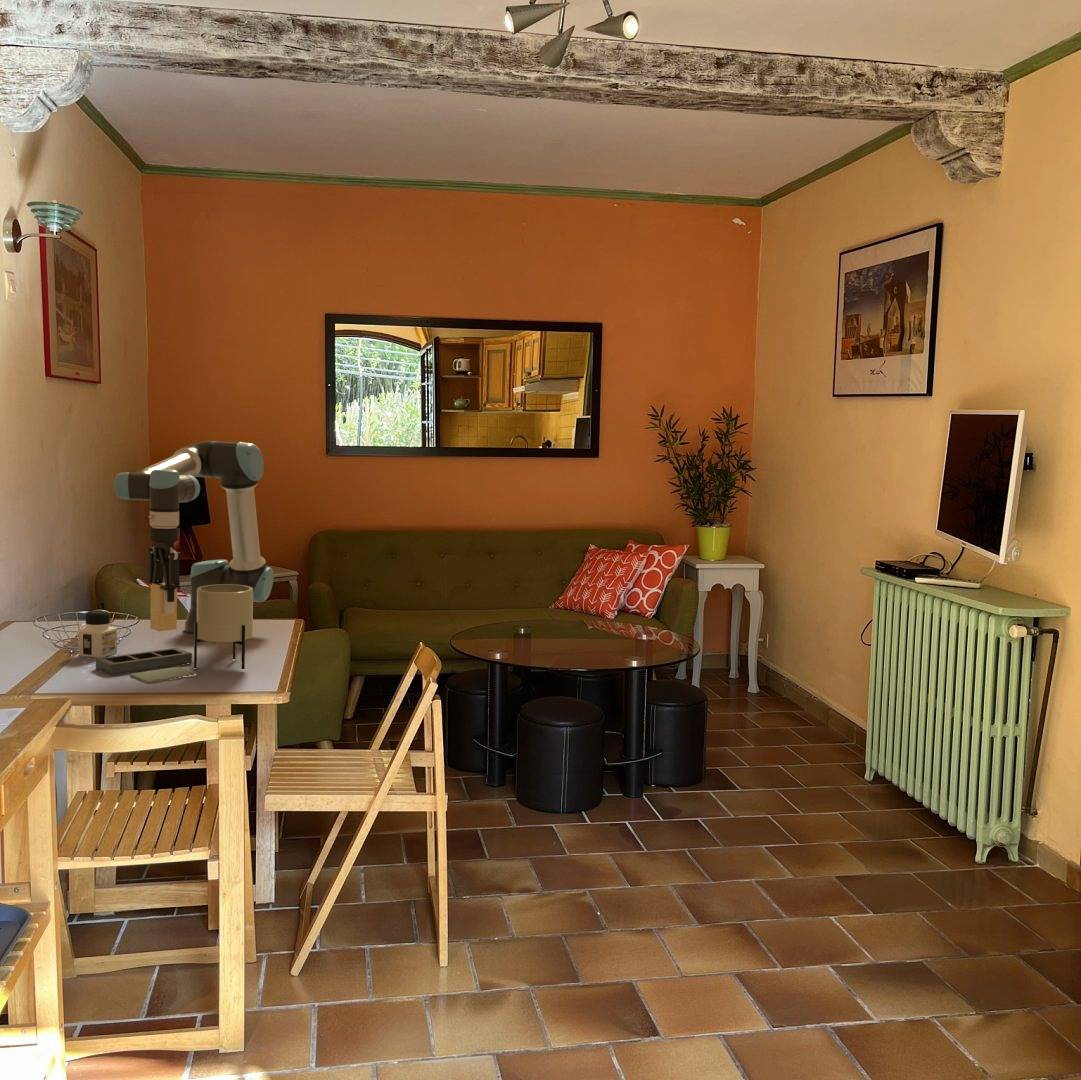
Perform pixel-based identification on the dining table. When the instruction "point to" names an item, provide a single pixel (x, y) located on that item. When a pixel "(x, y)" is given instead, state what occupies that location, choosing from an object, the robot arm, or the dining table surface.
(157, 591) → the wooden block
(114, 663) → the grey compartment tray
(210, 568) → the robot arm
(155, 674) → the mat
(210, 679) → the dining table surface
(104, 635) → the container
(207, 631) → the planter
